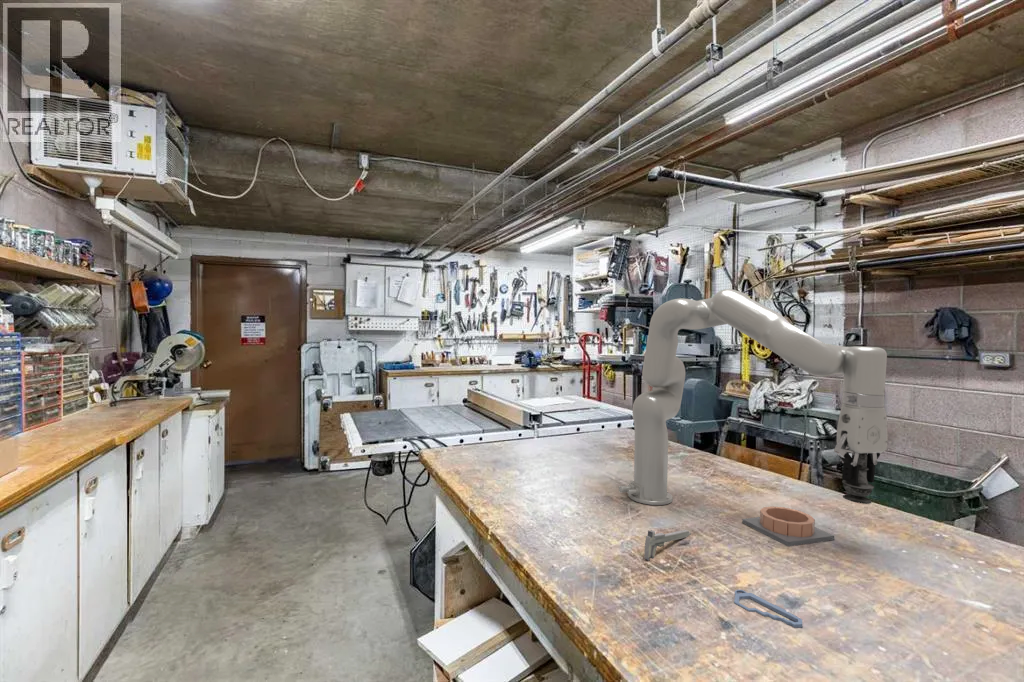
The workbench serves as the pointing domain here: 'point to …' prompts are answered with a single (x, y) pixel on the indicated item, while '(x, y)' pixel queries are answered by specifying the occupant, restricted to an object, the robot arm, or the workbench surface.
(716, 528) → the workbench surface
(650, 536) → the caliper
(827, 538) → the shaker holder
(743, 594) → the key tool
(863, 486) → the dark flared piece
